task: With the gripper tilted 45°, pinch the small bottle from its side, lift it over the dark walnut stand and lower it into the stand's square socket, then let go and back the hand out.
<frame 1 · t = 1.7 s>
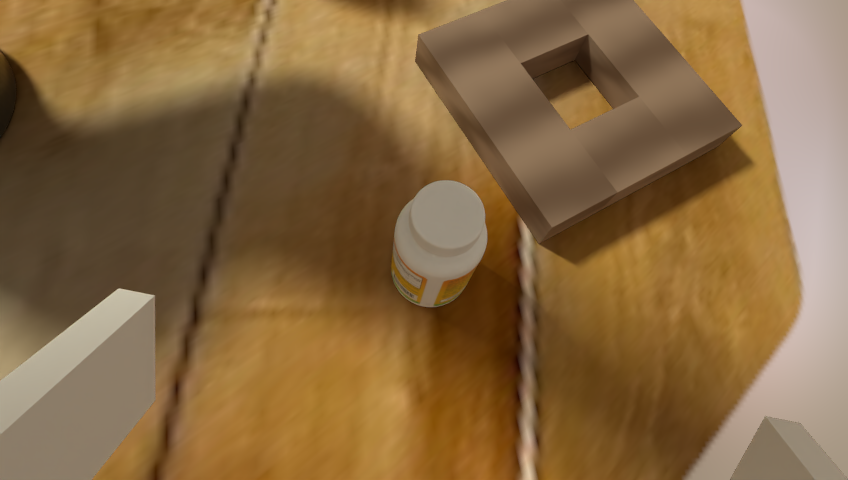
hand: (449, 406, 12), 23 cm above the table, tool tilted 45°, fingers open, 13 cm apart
supplement bottle: (429, 271, 37), on the table
socket stand: (566, 103, 43), on the table
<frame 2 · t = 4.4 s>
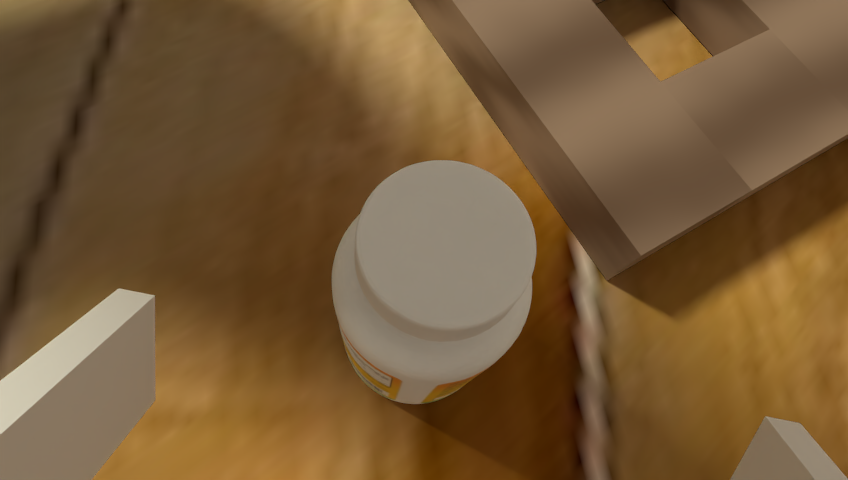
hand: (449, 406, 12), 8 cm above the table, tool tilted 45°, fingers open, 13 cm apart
supplement bottle: (414, 333, 21), on the table
socket stand: (638, 48, 27), on the table
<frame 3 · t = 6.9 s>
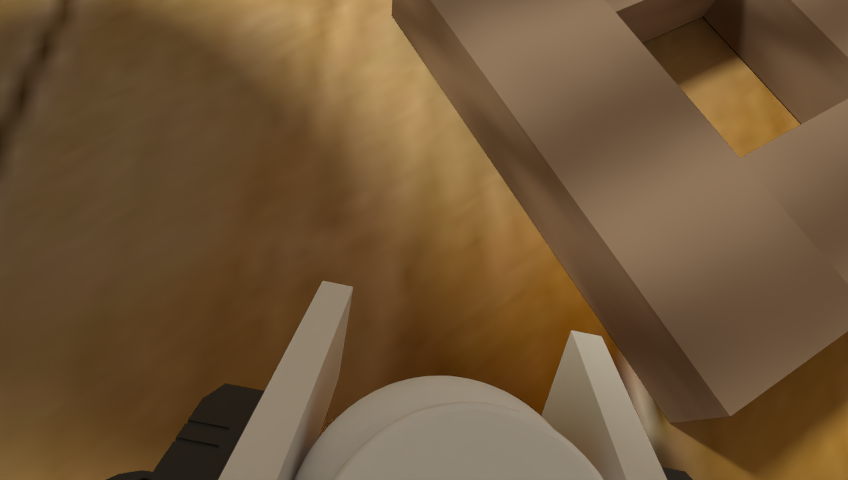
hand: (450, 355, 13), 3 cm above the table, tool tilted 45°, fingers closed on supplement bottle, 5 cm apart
socket stand: (696, 100, 21), on the table
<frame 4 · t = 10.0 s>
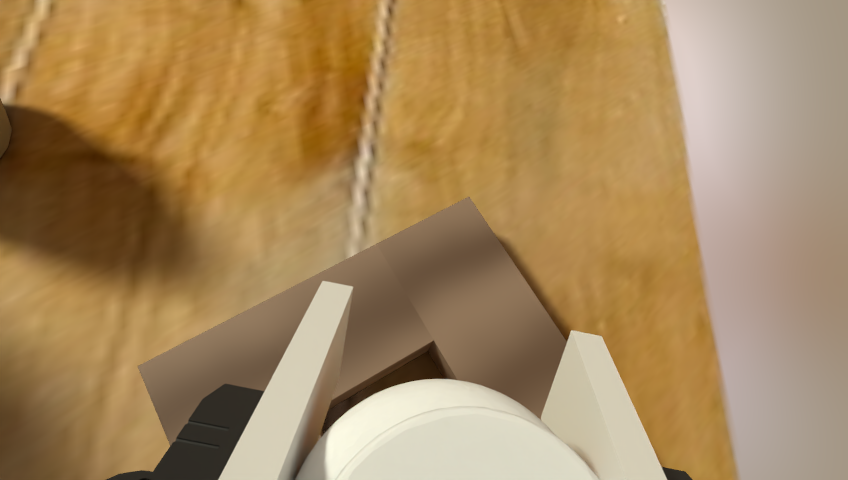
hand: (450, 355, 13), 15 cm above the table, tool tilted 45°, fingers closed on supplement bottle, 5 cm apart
socket stand: (405, 441, 27), on the table
when the fingers open (5 cm above the table, at t = 13.3 s): supplement bottle drops 2 cm, resting in socket stand.
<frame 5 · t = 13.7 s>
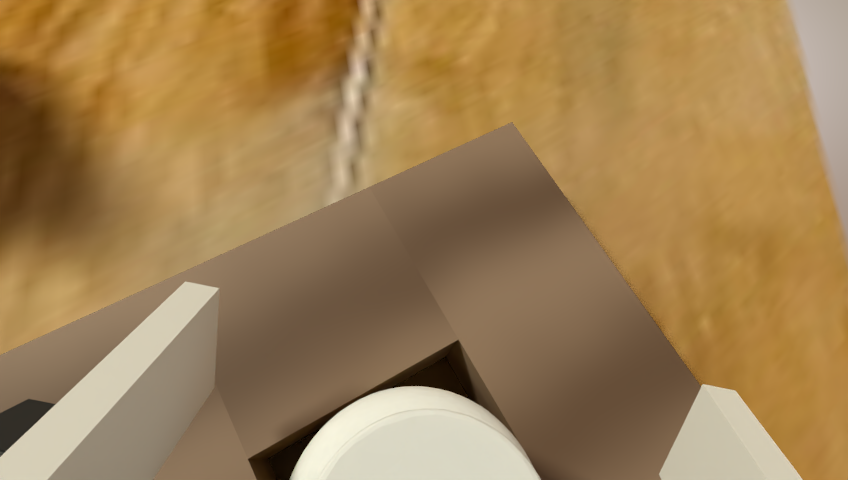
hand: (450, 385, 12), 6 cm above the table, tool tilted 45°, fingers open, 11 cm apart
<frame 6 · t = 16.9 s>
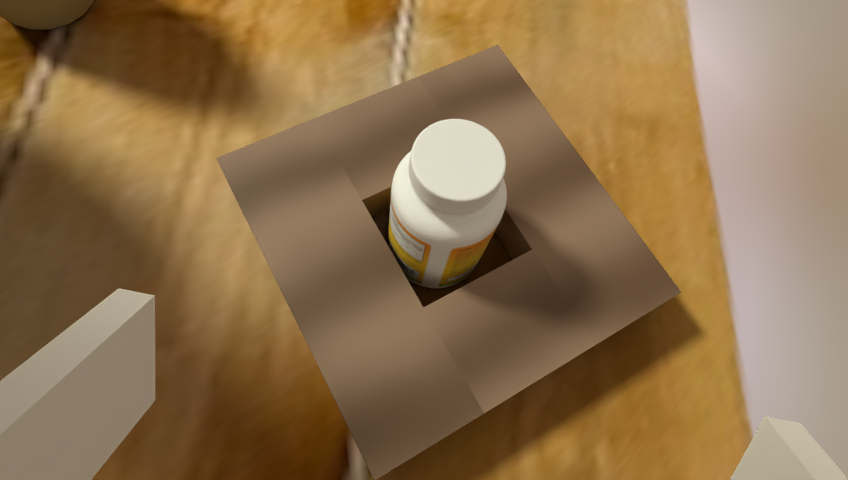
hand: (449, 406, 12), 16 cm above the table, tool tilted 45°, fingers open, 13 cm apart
squeeze bottle: (51, 0, 35), on the table
supplement bottle: (433, 247, 31), resting in socket stand
socket stand: (440, 245, 31), on the table
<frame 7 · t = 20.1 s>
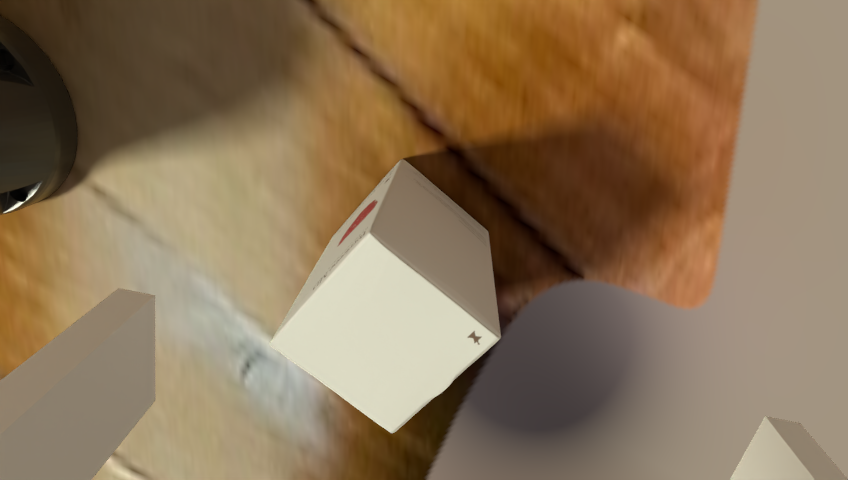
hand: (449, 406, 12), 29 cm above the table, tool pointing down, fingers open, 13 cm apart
supplement box: (408, 233, 41), on the table
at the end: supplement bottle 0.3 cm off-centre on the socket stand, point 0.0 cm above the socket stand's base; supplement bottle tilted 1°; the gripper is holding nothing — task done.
